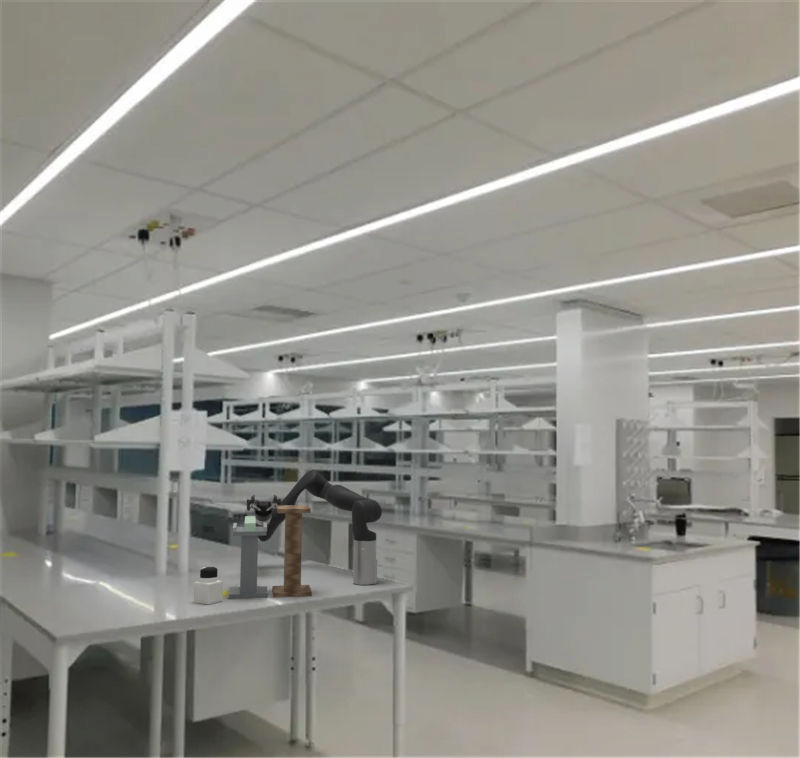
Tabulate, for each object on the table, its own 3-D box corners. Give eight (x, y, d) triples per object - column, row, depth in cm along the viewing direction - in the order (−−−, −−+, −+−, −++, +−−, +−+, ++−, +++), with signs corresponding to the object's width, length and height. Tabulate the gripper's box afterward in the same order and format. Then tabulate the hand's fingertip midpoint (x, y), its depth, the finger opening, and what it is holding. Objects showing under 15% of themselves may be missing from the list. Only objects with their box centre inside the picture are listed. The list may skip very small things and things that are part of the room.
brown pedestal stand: (308, 588, 287) (310, 505, 290) (311, 596, 272) (313, 508, 275) (272, 589, 285) (274, 505, 288) (273, 597, 269) (275, 509, 272)
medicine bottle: (222, 601, 263) (223, 566, 264) (207, 604, 257) (208, 569, 258) (207, 598, 267) (208, 565, 268) (193, 602, 260) (194, 567, 262)
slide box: (255, 523, 295) (255, 516, 296) (255, 531, 270) (255, 523, 270) (245, 523, 295) (245, 516, 295) (244, 531, 269) (244, 523, 269)
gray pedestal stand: (267, 589, 284) (268, 522, 287) (267, 598, 269) (269, 527, 271) (229, 590, 282) (231, 523, 284) (228, 599, 266) (230, 527, 268)
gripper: (246, 506, 320) (246, 488, 307) (279, 505, 323) (281, 488, 310) (246, 522, 316) (246, 505, 303) (279, 521, 319) (281, 504, 306)
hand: (264, 496), depth 307 cm, fingers open, 8 cm apart
